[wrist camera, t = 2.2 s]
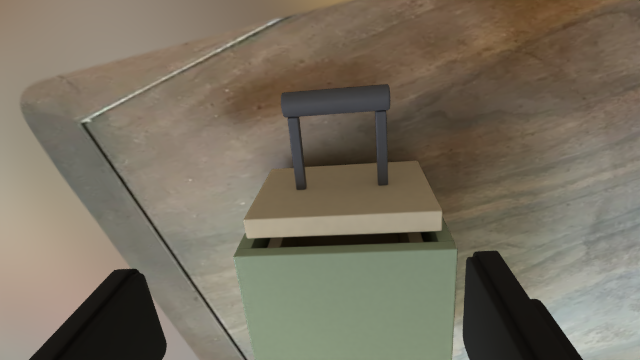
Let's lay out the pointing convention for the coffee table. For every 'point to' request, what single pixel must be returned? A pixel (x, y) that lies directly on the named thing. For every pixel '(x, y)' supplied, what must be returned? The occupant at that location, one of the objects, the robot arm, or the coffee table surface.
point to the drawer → (342, 185)
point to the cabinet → (350, 299)
